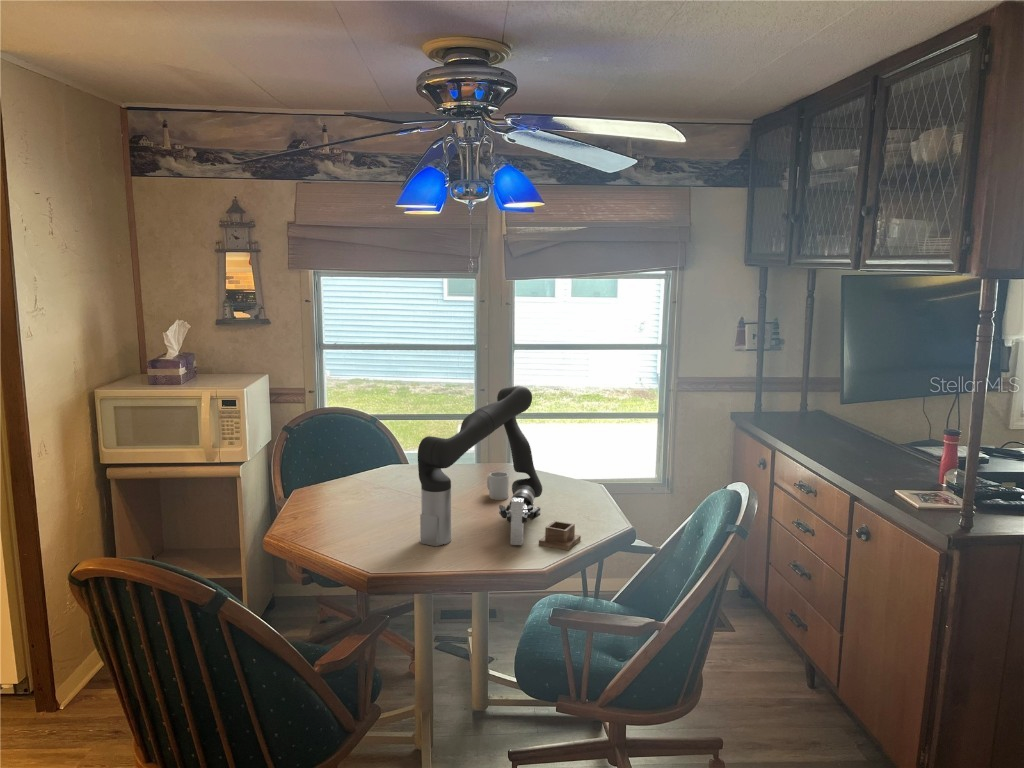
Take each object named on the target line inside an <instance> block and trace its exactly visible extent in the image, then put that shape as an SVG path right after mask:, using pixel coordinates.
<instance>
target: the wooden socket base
mask: <svg viewBox="0 0 1024 768" xmlns="http://www.w3.org/2000/svg"><path fill="white" fill-rule="evenodd" d="M544 529H545V530H544V531H545V533H544V534H545V535H544V536H542V538H540V539H538V545H539V546H542V545H543V547H547V548H548V547H549V548H554V549H558V550H565V551H569V550H571V549H572V548H573V547H575V545H577V544H578V543H580V542H581V540H582V539H581V538H582V536H581V535H579V534H576V533H575V532H576V531H575V530H576V527H575V523H572V522H571V523H569V522H564V521H557V520H553V521H552V522H551V523H549V524H548V525H547V526H546V527H545V528H544Z"/></svg>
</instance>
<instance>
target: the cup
mask: <svg viewBox="0 0 1024 768" xmlns="http://www.w3.org/2000/svg"><path fill="white" fill-rule="evenodd" d="M509 476H510V475H509V473H508V472H504V471H494V472H490V473H489V475H488V477H487V479H486V487H487V490H488V495H489V499H491V500H493V499H495V500H494V501H504V499H505V500H507V499H508V498H509V478H510V477H509Z"/></svg>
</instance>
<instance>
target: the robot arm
mask: <svg viewBox="0 0 1024 768" xmlns="http://www.w3.org/2000/svg"><path fill="white" fill-rule="evenodd" d="M532 402H533V393H532V392H531V390H530V389H529V388H528V387H526V386H523V385H515V386H509V387H504V388H501V389H500V390H499V391H498V394H497V398H496V401H495V402H493V403H490V404H487V405H484V406H482V407H480V408H478V409H476V410H474V411H473V412H471V413H470V414H468V415H467V416H466V417H465V418H464V419H463V420H462V422H461V425H460V430H459V432H457V433H455V434H454V435H452V436H451V437H448V438H442V437H437V436H431V435H429V436H428V435H427V436H425V437H423V438H422V440H420V443H419V444H418V448H417V468H418V469H417V470H418V479H419V482H420V485H421V488H420V489H421V492H420V493H421V514H420V515H419V517H420V519H419V520H420V526H419V527H420V529H419V531H420V544H422V545H428V546H433V547H439V546H444V545H447V544H450V543H451V541H452V481H451V478H450V477H449V476H448V475H446V473H444V472H443V470H442V469H448V468H450V467H451V466H452V465H454V464H455V463H456V462H457V461H458V460H459V459H461V457H462V456H464V455H465V454H466V453H467V452H468V451H470V450H471V449H472V448H473V447H475V445H477V444H478V443H480V442H481V441H483V440H484V439H485V438H487V437H488V436H490V435H491V434H492V433H494V432H495V431H496V430H497V429H499V428H500V427H502V426H504V430H505V433H506V436H507V439H508V443H509V447H510V452H511V458H512V465H513V470H514V472H515V473H519V474H520V473H522V474H526V475H528V478H522V479H521V478H520V479H516V480H514V481H513V482H512V484H511V491H512V495H511V498H510V502H509V504H508V505H507V506H504V505H503V504H500V505H498V513H499V515H500V516H501V518H502V519H506V522H508V523H510V524H511V500H512V498H524V513H523V516H522V523H524V524H525V523H527V522H528V520H531V521H533V520H535V519H537V518H538V517H539V516H540V515H541V507H540V506H537V507H534V504H535V499H537V498H539V497H540V496H541V495H542V494H543V485H542V483H541V481H540V478H539V476H538V475H537V474H538V473H537V472H536V469H535V466H534V465H535V464H534V460H533V454H532V448H531V445H530V442H529V440H528V439H527V438H526V436H525V434H524V433H523V431H522V430H521V428H520V427H519V424H518V421H517V418H516V416H518V415H520V414H522V413H525V412H526V411H527V410H529V408H530V407H531V406H532V405H531V404H532ZM443 544H444V545H443Z"/></svg>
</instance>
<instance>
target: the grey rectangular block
mask: <svg viewBox="0 0 1024 768" xmlns="http://www.w3.org/2000/svg"><path fill="white" fill-rule="evenodd" d="M511 499H512V500H511ZM511 499H510V501H511V523H510V546H523V543H524V524H525V523H522V516H523V513H524V498H512V497H511Z"/></svg>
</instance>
